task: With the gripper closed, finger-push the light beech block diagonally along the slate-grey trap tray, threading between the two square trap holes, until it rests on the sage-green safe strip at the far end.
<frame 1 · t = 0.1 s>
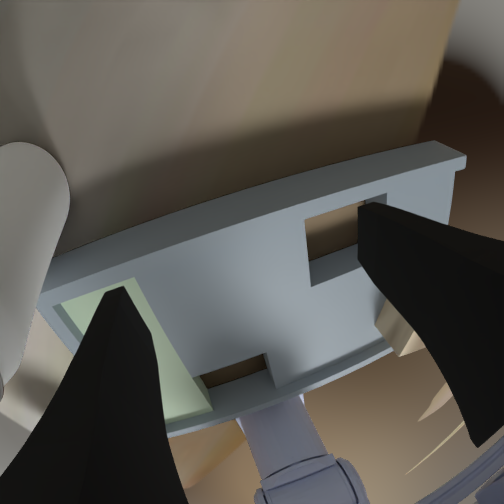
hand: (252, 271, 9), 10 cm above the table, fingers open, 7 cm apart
block: (404, 299, 26), point 2 cm above the table, touching trap box
trap box: (287, 295, 25), on the table
can: (22, 193, 15), on the table
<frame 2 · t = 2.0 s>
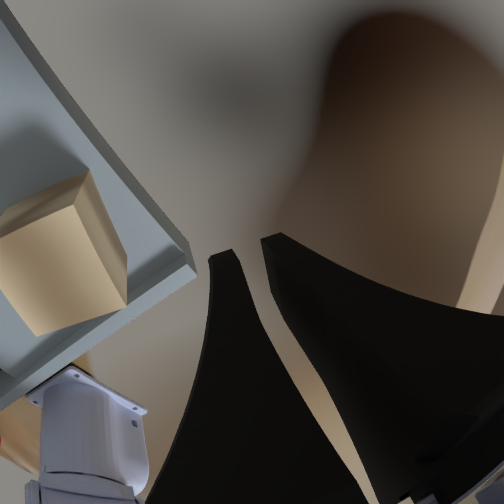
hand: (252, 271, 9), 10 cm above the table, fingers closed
block: (65, 232, 14), point 2 cm above the table, touching trap box
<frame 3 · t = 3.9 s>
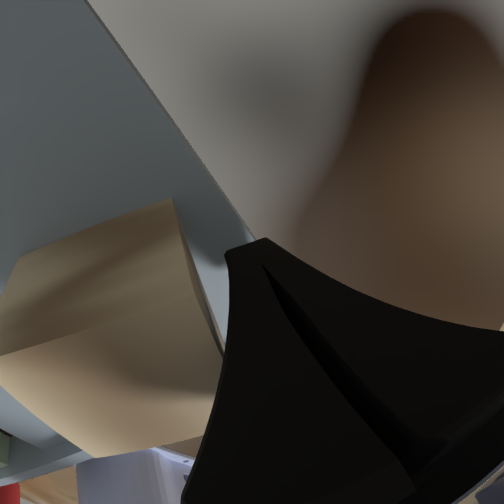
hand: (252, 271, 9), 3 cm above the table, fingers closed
block: (122, 295, 9), point 3 cm above the table, touching gripper
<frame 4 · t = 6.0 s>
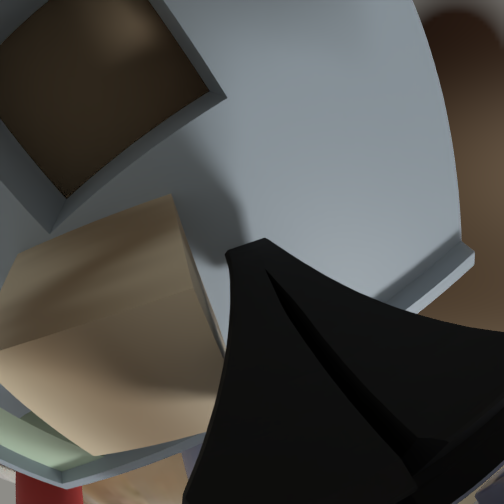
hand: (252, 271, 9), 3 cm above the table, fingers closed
block: (121, 291, 9), point 2 cm above the table, touching gripper, trap box
trap box: (92, 261, 11), on the table
beer can: (48, 471, 20), on the table
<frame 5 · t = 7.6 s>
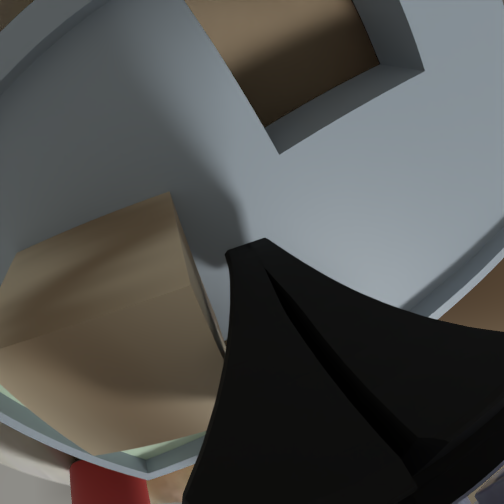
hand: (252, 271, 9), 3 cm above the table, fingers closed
block: (120, 290, 9), point 3 cm above the table, touching gripper
trap box: (261, 204, 12), on the table
beer can: (106, 465, 21), on the table
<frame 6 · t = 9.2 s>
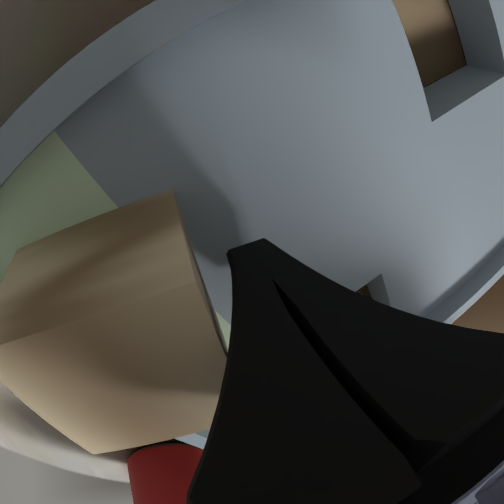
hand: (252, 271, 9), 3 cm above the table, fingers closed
block: (121, 288, 9), point 2 cm above the table, touching gripper, trap box
trap box: (387, 167, 13), on the table
beer can: (166, 453, 22), on the table
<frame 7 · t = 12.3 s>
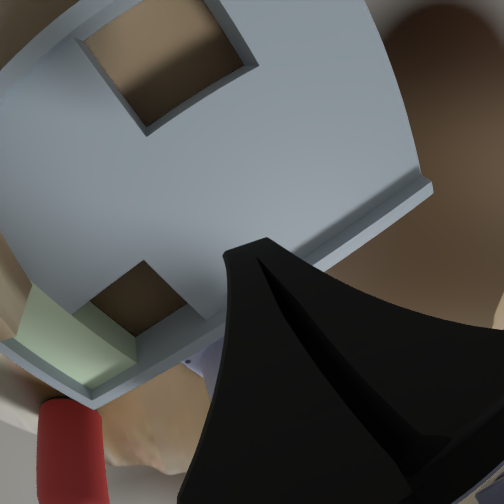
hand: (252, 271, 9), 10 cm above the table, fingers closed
trap box: (158, 174, 17), on the table
beer can: (70, 410, 25), on the table
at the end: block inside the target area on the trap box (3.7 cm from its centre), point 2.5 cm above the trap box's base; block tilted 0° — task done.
